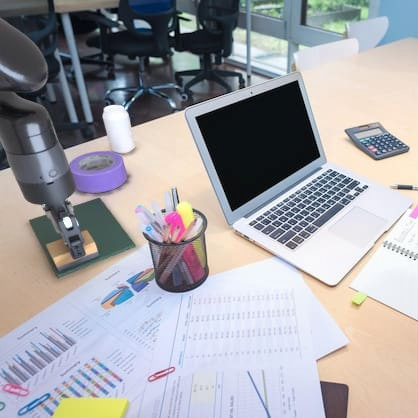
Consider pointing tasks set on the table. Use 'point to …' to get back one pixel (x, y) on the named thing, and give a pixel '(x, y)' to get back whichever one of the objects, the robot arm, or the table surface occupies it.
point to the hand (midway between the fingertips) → (71, 243)
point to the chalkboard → (97, 228)
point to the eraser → (63, 255)
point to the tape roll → (98, 171)
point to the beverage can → (118, 129)
